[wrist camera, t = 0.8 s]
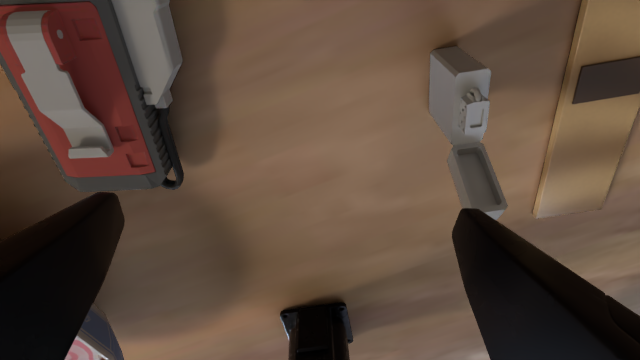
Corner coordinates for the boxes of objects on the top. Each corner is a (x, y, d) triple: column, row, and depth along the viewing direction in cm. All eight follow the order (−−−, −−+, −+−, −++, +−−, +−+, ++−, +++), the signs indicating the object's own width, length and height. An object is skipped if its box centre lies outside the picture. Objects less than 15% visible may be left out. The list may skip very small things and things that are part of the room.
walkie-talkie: (216, 174, 25) (114, -247, 14) (201, 214, 22) (46, -311, 10) (93, 180, 25) (-111, -239, 14) (58, 221, 22) (-259, -300, 10)
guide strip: (596, 205, 28) (602, 211, 28) (532, 214, 29) (537, 220, 28) (732, -174, 16) (749, -178, 15) (615, -149, 16) (627, -152, 15)
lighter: (430, 50, 21) (488, 103, 14) (460, 45, 21) (531, 96, 14) (427, 152, 25) (471, 230, 18) (452, 149, 25) (505, 226, 18)
